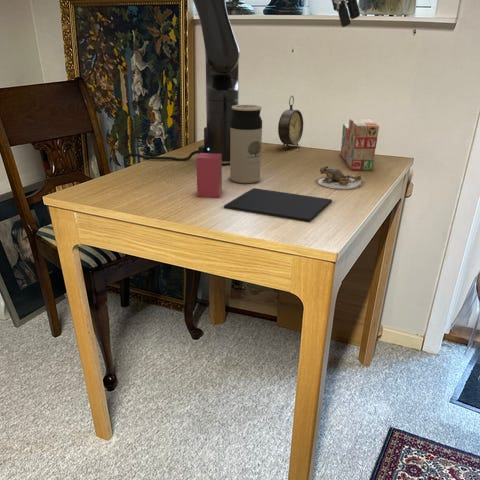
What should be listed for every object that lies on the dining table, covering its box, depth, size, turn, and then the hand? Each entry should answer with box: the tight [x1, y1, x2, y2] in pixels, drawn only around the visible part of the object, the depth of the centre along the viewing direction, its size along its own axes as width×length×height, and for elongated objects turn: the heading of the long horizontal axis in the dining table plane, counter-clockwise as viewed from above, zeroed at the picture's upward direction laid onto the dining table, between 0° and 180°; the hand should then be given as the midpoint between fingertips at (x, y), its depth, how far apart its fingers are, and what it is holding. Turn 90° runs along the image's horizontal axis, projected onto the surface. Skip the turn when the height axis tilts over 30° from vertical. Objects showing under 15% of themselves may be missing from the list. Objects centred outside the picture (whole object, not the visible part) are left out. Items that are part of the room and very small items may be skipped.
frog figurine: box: [317, 165, 363, 190], centre depth 129 cm, size 12×12×4 cm
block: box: [195, 153, 223, 198], centre depth 117 cm, size 5×5×9 cm
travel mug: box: [229, 104, 263, 184], centre depth 127 cm, size 8×8×18 cm
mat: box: [223, 187, 333, 223], centre depth 113 cm, size 20×16×1 cm
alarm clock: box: [277, 95, 304, 151], centre depth 165 cm, size 11×5×16 cm, turn 148°
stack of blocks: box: [340, 118, 380, 171], centre depth 149 cm, size 21×6×12 cm, turn 179°
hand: (350, 21), depth 121 cm, fingers open, 8 cm apart
